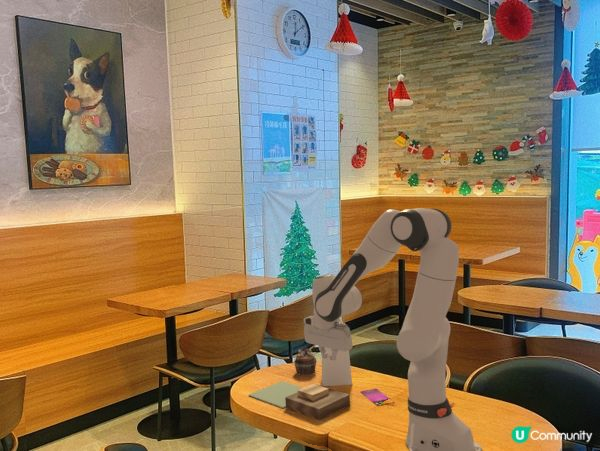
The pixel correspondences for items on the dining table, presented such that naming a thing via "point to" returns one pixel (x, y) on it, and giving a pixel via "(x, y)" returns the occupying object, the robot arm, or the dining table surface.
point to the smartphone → (375, 396)
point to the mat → (276, 393)
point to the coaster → (313, 392)
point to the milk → (336, 368)
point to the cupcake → (305, 362)
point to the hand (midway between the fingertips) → (329, 359)
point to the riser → (318, 404)
